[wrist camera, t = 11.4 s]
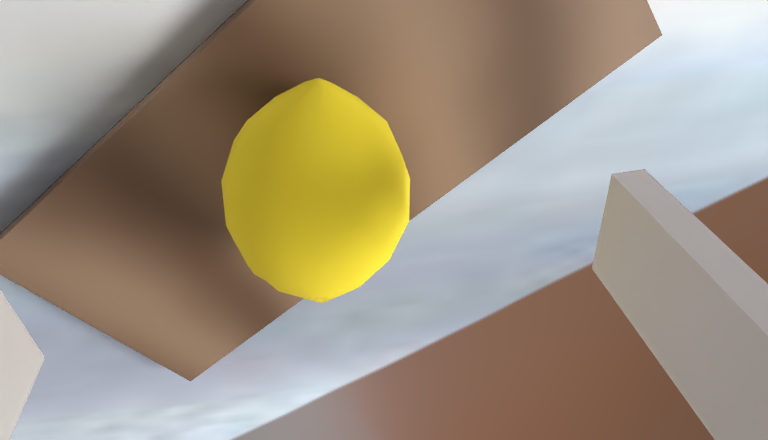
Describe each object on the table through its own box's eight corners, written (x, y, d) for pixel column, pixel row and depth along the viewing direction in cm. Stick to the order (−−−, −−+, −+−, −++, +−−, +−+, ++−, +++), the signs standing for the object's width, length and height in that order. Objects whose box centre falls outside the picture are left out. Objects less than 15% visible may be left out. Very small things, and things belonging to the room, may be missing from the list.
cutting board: (194, 359, 24) (190, 381, 23) (-8, 240, 19) (-23, 261, 18) (642, 25, 19) (662, 35, 18) (513, -251, 14) (531, -258, 13)
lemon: (222, 58, 17) (198, 101, 12) (398, 62, 17) (443, 104, 13) (237, 260, 20) (223, 361, 15) (387, 254, 20) (419, 347, 16)
